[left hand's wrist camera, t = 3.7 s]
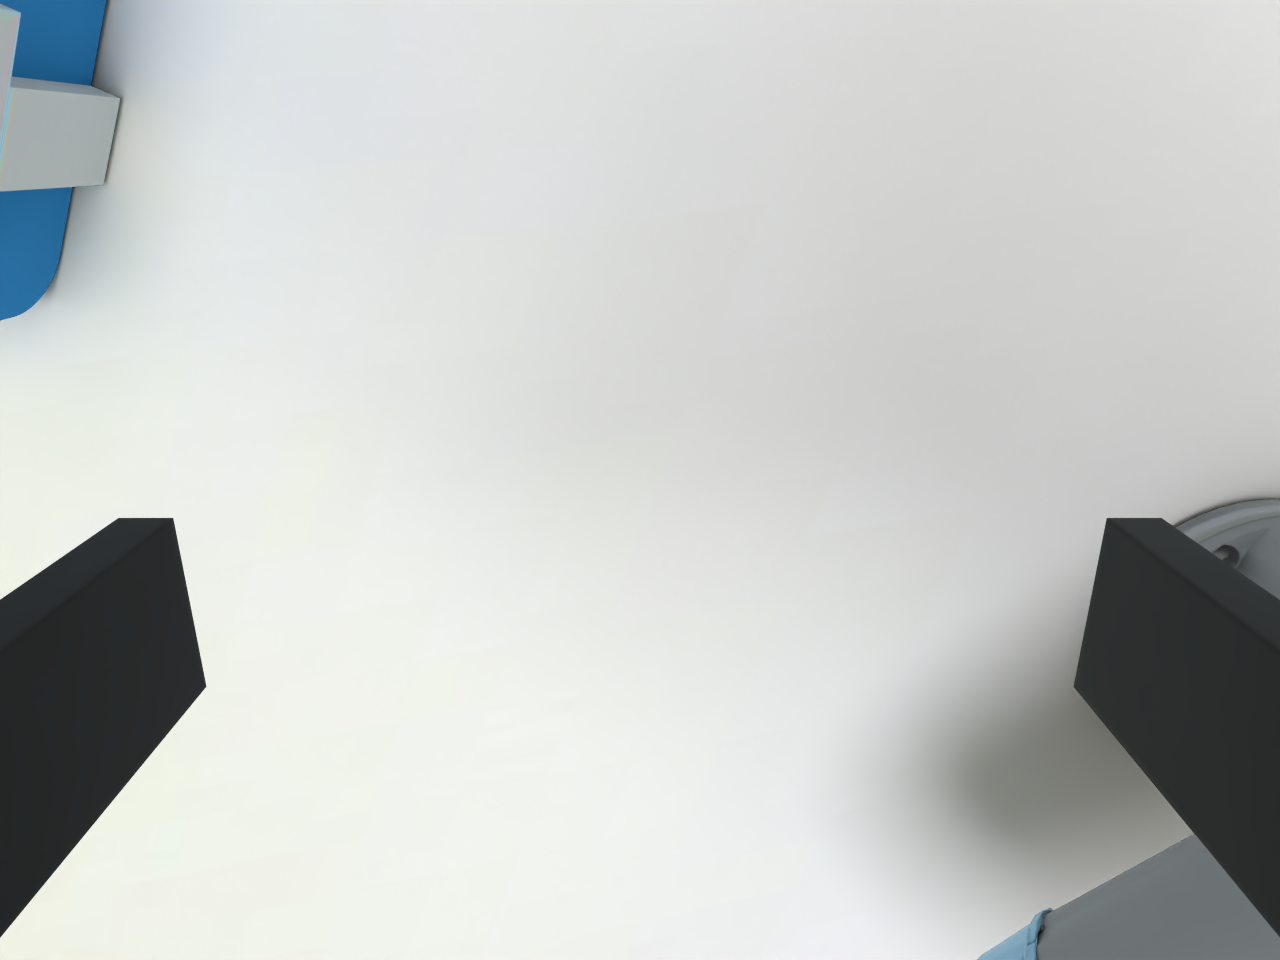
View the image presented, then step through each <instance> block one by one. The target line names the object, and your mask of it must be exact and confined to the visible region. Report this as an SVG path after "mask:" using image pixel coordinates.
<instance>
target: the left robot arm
mask: <svg viewBox="0 0 1280 960" xmlns="http://www.w3.org/2000/svg"><path fill="white" fill-rule="evenodd" d="M205 688H206V683H205V677H204V672H203V667H202V662H201V657H200V652H199V647H198V642H197V637H196V632H195V627H194V622H193V617H192V611H191V606H190V601H189V596H188V591H187V586H186V581H185V576H184V571H183V566H182V561H181V556H180V551H179V545H178V540H177V535H176V530H175V525H174V520H173V518H118V519H117V520H115V521H114V522H112V523H111V524H109V525H108V526H106V527H105V528H104V529H102V530H101V531H99V532H98V533H96V534H95V535H93V536H92V537H91V538H89V539H88V540H86V541H85V542H83V543H82V544H80V545H79V546H78V547H76V548H75V549H73V550H72V551H70V552H69V553H67V554H66V555H64V556H63V557H62V558H60V559H59V560H57V561H56V562H54V563H53V564H51V565H50V566H49V567H47V568H46V569H44V570H43V571H41V572H40V573H38V574H37V575H35V576H34V577H33V578H31V579H30V580H28V581H27V582H25V583H24V584H22V585H21V586H20V587H18V588H17V589H15V590H14V591H12V592H11V593H9V594H8V595H6V596H5V597H4V598H2V599H1V600H0V937H1V936H2V935H3V933H4V932H5V931H6V930H7V929H8V927H9V926H10V925H11V924H12V923H13V921H14V920H15V919H16V918H17V916H18V915H19V914H20V913H21V912H22V910H23V909H24V908H25V907H26V905H27V904H28V903H29V902H30V901H31V899H32V898H33V897H34V896H35V895H36V893H37V892H38V891H39V890H40V888H41V887H42V886H43V885H44V884H45V882H46V881H47V880H48V879H49V877H50V876H51V875H52V874H53V873H54V871H55V870H56V869H57V868H58V867H59V865H60V864H61V863H62V862H63V860H64V859H65V858H66V857H67V856H68V854H69V853H70V852H71V851H72V849H73V848H74V847H75V846H76V845H77V843H78V842H79V841H80V840H81V839H82V837H83V836H84V835H85V834H86V832H87V831H88V830H89V829H90V828H91V826H92V825H93V824H94V823H95V821H96V820H97V819H98V818H99V817H100V815H101V814H102V813H103V812H104V811H105V809H106V808H107V807H108V806H109V804H110V803H111V802H112V801H113V800H114V798H115V797H116V796H117V795H118V793H119V792H120V791H121V790H122V789H123V787H124V786H125V785H126V784H127V783H128V781H129V780H130V779H131V778H132V776H133V775H134V774H135V773H136V772H137V770H138V769H139V768H140V767H141V765H142V764H143V763H144V762H145V761H146V759H147V758H148V757H149V756H150V754H151V753H152V752H153V751H154V750H155V748H156V747H157V746H158V745H159V744H160V742H161V741H162V740H163V739H164V737H165V736H166V735H167V734H168V733H169V731H170V730H171V729H172V728H173V726H174V725H175V724H176V723H177V722H178V720H179V719H180V718H181V717H182V716H183V714H184V713H185V712H186V711H187V709H188V708H189V707H190V706H191V705H192V703H193V702H194V701H195V700H196V698H197V697H198V696H199V695H200V694H201V692H202V691H203V690H204V689H205ZM1074 688H1075V689H1076V690H1077V691H1078V692H1079V694H1080V695H1081V696H1082V697H1083V698H1084V700H1085V701H1086V702H1087V703H1088V705H1089V706H1090V707H1091V708H1092V709H1093V711H1094V712H1095V713H1096V714H1097V716H1098V717H1099V718H1100V719H1101V720H1102V722H1103V723H1104V724H1105V725H1106V726H1107V728H1108V729H1109V730H1110V731H1111V733H1112V734H1113V735H1114V736H1115V737H1116V739H1117V740H1118V741H1119V742H1120V744H1121V745H1122V746H1123V747H1124V748H1125V750H1126V751H1127V752H1128V753H1129V754H1130V756H1131V757H1132V758H1133V759H1134V761H1135V762H1136V763H1137V764H1138V765H1139V767H1140V768H1141V769H1142V770H1143V772H1144V773H1145V774H1146V775H1147V776H1148V778H1149V779H1150V780H1151V781H1152V783H1153V784H1154V785H1155V786H1156V787H1157V789H1158V790H1159V791H1160V792H1161V793H1162V795H1163V796H1164V797H1165V798H1166V800H1167V801H1168V802H1169V803H1170V804H1171V806H1172V807H1173V808H1174V809H1175V811H1176V812H1177V813H1178V814H1179V815H1180V817H1181V818H1182V819H1183V820H1184V821H1185V823H1186V824H1187V825H1188V826H1189V828H1190V829H1191V830H1192V831H1193V832H1194V834H1193V835H1191V836H1189V837H1188V838H1186V839H1184V840H1182V841H1180V842H1179V843H1177V844H1175V845H1173V846H1171V847H1169V848H1168V849H1166V850H1164V851H1162V852H1160V853H1158V854H1157V855H1155V856H1153V857H1151V858H1149V859H1148V860H1146V861H1144V862H1142V863H1140V864H1138V865H1137V866H1135V867H1133V868H1131V869H1129V870H1128V871H1126V872H1124V873H1122V874H1120V875H1118V876H1117V877H1115V878H1113V879H1111V880H1109V881H1108V882H1106V883H1104V884H1102V885H1100V886H1098V887H1097V888H1095V889H1093V890H1091V891H1089V892H1088V893H1086V894H1084V895H1082V896H1080V897H1078V898H1077V899H1075V900H1073V901H1071V902H1069V903H1067V904H1065V905H1063V906H1061V907H1059V908H1058V909H1056V910H1053V909H1051V908H1049V909H1046V910H1043V911H1041V912H1040V913H1038V914H1037V915H1035V916H1034V918H1033V920H1032V922H1031V924H1029V925H1028V926H1026V927H1025V928H1023V929H1021V930H1020V931H1018V932H1017V933H1015V934H1014V935H1012V936H1011V937H1009V938H1008V939H1006V940H1004V941H1003V942H1001V943H1000V944H998V945H997V946H995V947H994V948H992V949H990V950H989V951H987V952H985V953H984V954H982V955H981V956H980V957H979V958H978V959H977V960H1280V499H1263V500H1254V501H1246V502H1241V503H1236V504H1231V505H1228V506H1224V507H1221V508H1217V509H1214V510H1212V511H1209V512H1206V513H1204V514H1201V515H1199V516H1197V517H1195V518H1192V519H1190V520H1188V521H1186V522H1184V523H1183V524H1181V525H1179V526H1177V527H1174V526H1172V525H1171V524H1169V523H1168V522H1166V521H1165V520H1163V519H1162V518H1107V520H1106V525H1105V530H1104V535H1103V540H1102V545H1101V551H1100V556H1099V561H1098V566H1097V571H1096V576H1095V581H1094V586H1093V591H1092V596H1091V601H1090V606H1089V611H1088V617H1087V622H1086V627H1085V632H1084V637H1083V642H1082V647H1081V652H1080V657H1079V662H1078V667H1077V672H1076V677H1075V683H1074Z"/></svg>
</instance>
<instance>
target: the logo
mask: <svg viewBox="0 0 1280 960" xmlns="http://www.w3.org/2000/svg"><path fill="white" fill-rule="evenodd" d="M105 5H106V0H0V320H3V319H7V318H11V317H14V316H17V315H20V314H22V313H24V312H25V311H27V310H28V309H30V308H31V307H32V306H33V305H34V304H35V303H36V302H37V301H38V300H39V299H40V298H41V296H42V295H43V294H44V292H45V291H46V289H47V288H48V286H49V284H50V283H51V281H52V278H53V276H54V274H55V271H56V269H57V265H58V262H59V258H60V253H61V247H62V242H63V236H64V231H65V225H66V220H67V214H68V209H69V203H70V198H71V192H72V187H79V186H94V185H104V180H105V175H106V170H107V165H108V159H109V154H110V149H111V144H112V139H113V134H114V129H115V124H116V119H117V114H118V109H119V104H120V98H119V97H116V96H114V95H112V94H109V93H107V92H104V91H102V90H100V89H97V88H95V87H93V86H91V82H92V77H93V71H94V66H95V60H96V55H97V49H98V44H99V38H100V33H101V27H102V22H103V16H104V11H105Z"/></svg>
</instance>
